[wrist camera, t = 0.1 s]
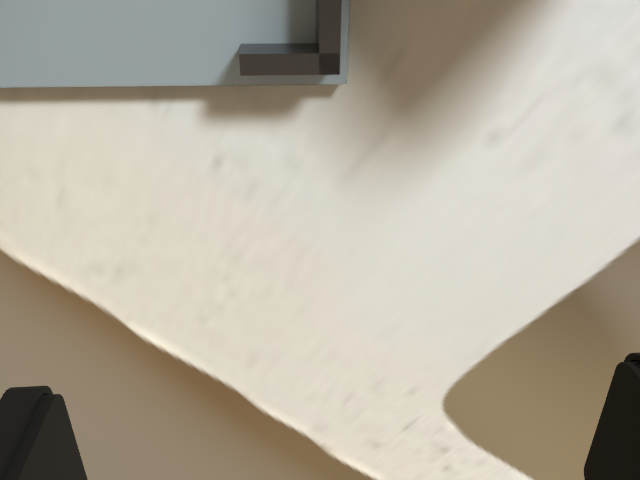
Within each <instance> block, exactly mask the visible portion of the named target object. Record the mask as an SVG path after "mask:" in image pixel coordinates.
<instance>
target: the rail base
mask: <svg viewBox="0 0 640 480" xmlns="http://www.w3.org/2000/svg"><path fill="white" fill-rule="evenodd" d="M348 28H349V0H0V88H10V87H109V86H208V85H306V84H347V59H348Z"/></svg>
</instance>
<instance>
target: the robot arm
mask: <svg viewBox="0 0 640 480" xmlns="http://www.w3.org/2000/svg"><path fill="white" fill-rule="evenodd" d="M584 477H585V480H640V353H631V354H629V355H628V356H627V357H626V358H625V360H624V362H621V363H619V364H618V365H617V367H616V370H615V373H614V376H613V379H612V382H611V385H610V388H609V391H608V394H607V397H606V401H605V404H604V407H603V410H602V413H601V416H600V419H599V423H598V426H597V429H596V432H595V435H594V438H593V441H592V445H591V447H590V451H589V454H588V457H587V460H586V463H585V467H584ZM0 480H87V476H86V473H85V470H84V466H83V463H82V460H81V456H80V453H79V449H78V446H77V443H76V440H75V436H74V432H73V430H72V426H71V422H70V419H69V416H68V412H67V409H66V405H65V402H64V399H63V397H62V396H61V395H60V394H53V393H52V391H51V389H50V388H49V387H48V386H33V387H15V388H10V389H8V390H6V392H5V393H4V394H3V396H2V398H1V400H0Z"/></svg>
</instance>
